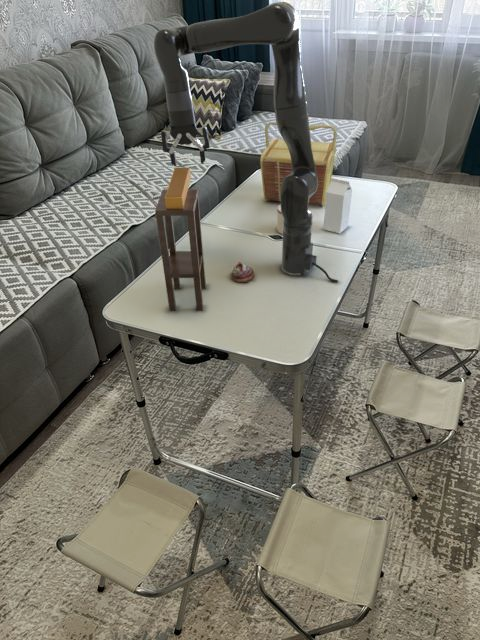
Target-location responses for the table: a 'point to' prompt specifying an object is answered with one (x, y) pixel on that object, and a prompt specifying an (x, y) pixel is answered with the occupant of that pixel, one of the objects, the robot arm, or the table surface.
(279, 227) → the teacup with lid
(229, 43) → the robot arm
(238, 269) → the pastry
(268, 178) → the picnic basket
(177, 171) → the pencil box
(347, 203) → the milk carton
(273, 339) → the table surface
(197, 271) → the stand
